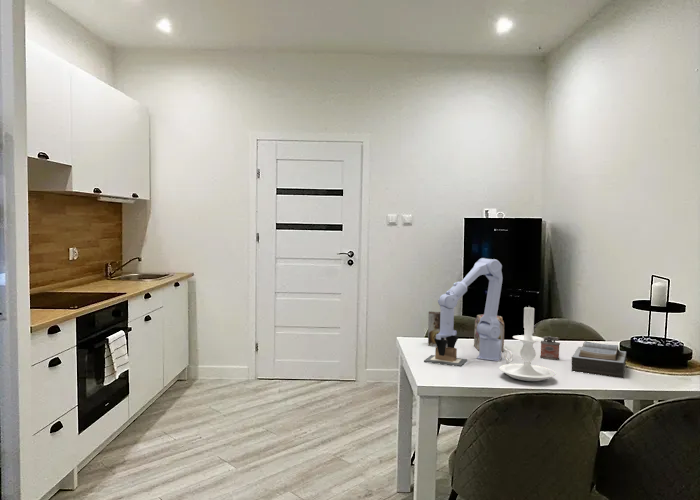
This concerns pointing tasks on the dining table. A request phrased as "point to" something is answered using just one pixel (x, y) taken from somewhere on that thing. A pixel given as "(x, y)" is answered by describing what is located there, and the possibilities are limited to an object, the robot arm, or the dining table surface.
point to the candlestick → (527, 354)
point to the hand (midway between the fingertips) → (446, 353)
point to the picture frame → (456, 363)
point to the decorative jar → (476, 335)
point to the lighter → (550, 348)
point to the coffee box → (433, 327)
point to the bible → (599, 360)
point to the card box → (447, 354)
